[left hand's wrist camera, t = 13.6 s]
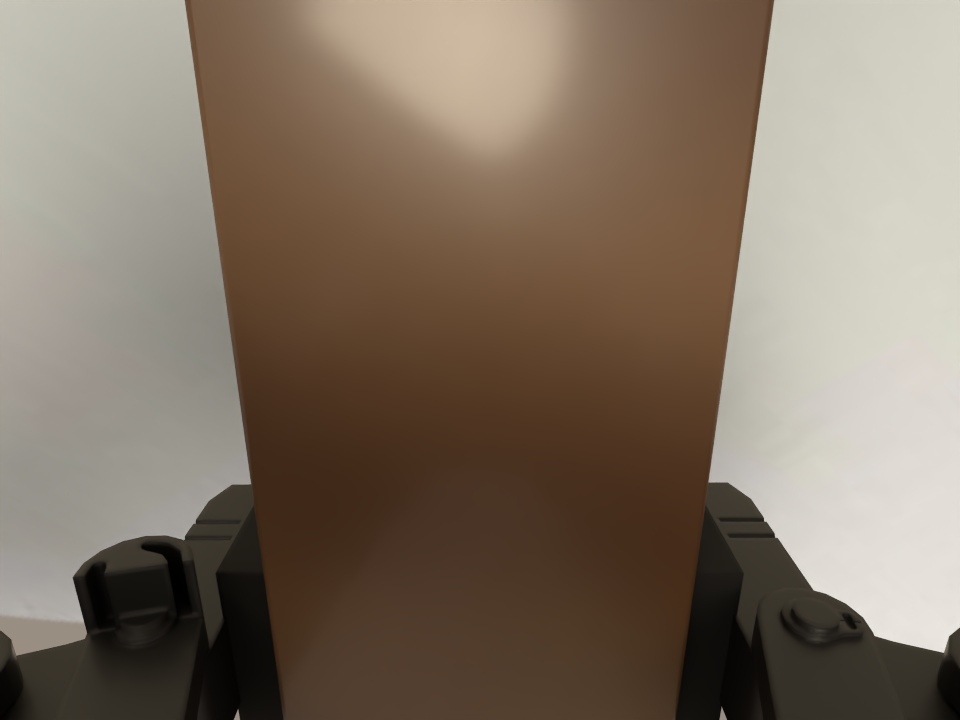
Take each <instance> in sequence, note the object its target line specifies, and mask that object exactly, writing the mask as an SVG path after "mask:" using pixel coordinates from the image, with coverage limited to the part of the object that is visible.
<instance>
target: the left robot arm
mask: <svg viewBox="0 0 960 720" xmlns="http://www.w3.org/2000/svg"><path fill="white" fill-rule="evenodd" d="M73 581H74V584H75V588H76V592H77V596H78V600H79V603H80V607H81V611H82V615H83V619H84V623H85V626H86V630H87V635H86V638H85V639H84V640H80V641H77V642H73V643H70V644H66V645H62V646H58V647H53V648H49V649H44V650H40V651H36V652H31V653H27V654H22V655H18V656H16V654H15V650H14V647H13V644H12V641H11V639H10V638H9V637H7V636H6V635H5V634H4V633H3V632H2V631H0V720H234V718H235V715H236V713H237V710H239V716H240V720H284V719H283V712H282V704H281V697H280V690H279V682H278V675H277V668H276V661H275V653H274V646H273V639H272V631H271V624H270V617H269V610H268V602H267V595H266V588H265V580H264V573H263V566H262V559H261V551H260V544H259V537H258V529H257V522H256V515H255V507H254V500H253V493H252V486H251V485H231V486H230V487H228V488H227V489H225V490H224V491H223V492H221V493H220V494H218V495H217V496H216V497H214V498H213V499H211V500H210V501H209V502H208V503H207V505H206V506H205V508H204V509H203V511H202V512H201V514H200V515H199V517H198V518H197V519H196V524H193V525H192V527H191V528H190V530H189V531H188V533H187V534H186V536H185V540H181V539H177V538H173V537H169V536H144V537H140V538H136V539H132V540H127V541H123V542H121V543H118V544H116V545H114V546H111V547H109V548H107V549H105V550H102V551H100V552H99V553H98V554H96V555H95V556H93V557H92V558H91V559H89V560H88V561H86V562H85V563H84V564H83V565H82V566H81V567H80V569H79V570H78V571H77V573H76V574H75V575H74V576H73ZM721 707H722V708H723V711H724V713H725V716H726V718H727V720H960V628H959V629H958V630H956V631H955V632H954V633H953V634H952V635H950V636H949V639H948V642H947V645H946V648H945V652H944V653H941V652H937V651H933V650H928V649H924V648H919V647H915V646H910V645H906V644H901V643H897V642H893V641H889V640H886V639H882V638H879V637H876V636H874V634H873V632H872V630H871V629H870V627H869V626H868V624H867V623H866V622H865V620H864V619H863V617H862V616H860V615H859V614H858V613H857V612H855V611H854V610H853V609H852V608H850V607H849V606H848V605H847V604H845V603H843V602H841V601H839V600H837V599H835V598H833V597H831V596H829V595H827V594H824V593H821V592H817V591H814V590H813V589H812V588H811V586H810V585H809V583H808V582H807V580H806V579H805V577H804V576H803V574H802V573H801V571H800V570H799V569H798V567H797V566H796V564H795V563H794V561H793V560H792V558H791V557H790V555H789V554H788V552H787V551H786V550H785V548H784V547H783V545H782V544H781V542H780V541H779V539H778V538H775V534H774V532H773V531H772V529H771V528H770V526H769V525H768V523H767V522H764V517H763V516H762V515H761V513H760V512H759V510H758V509H757V507H756V506H755V504H754V503H753V501H752V500H751V499H750V498H749V497H747V496H746V495H744V494H743V493H742V492H740V491H739V490H737V489H736V488H735V487H733V486H732V485H730V484H729V483H708V489H707V496H706V503H705V511H704V518H703V525H702V533H701V540H700V547H699V555H698V562H697V569H696V577H695V584H694V591H693V599H692V606H691V613H690V621H689V628H688V635H687V643H686V650H685V657H684V665H683V672H682V679H681V687H680V694H679V701H678V709H677V716H676V720H719V719H720V713H721Z"/></svg>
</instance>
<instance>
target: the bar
mask: <svg viewBox="0 0 960 720" xmlns="http://www.w3.org/2000/svg"><path fill="white" fill-rule="evenodd" d="M185 5H186V12H187V19H188V26H189V34H190V41H191V48H192V56H193V63H194V70H195V77H196V85H197V92H198V99H199V107H200V114H201V121H202V129H203V136H204V143H205V150H206V158H207V165H208V172H209V180H210V187H211V194H212V201H213V209H214V216H215V223H216V231H217V238H218V245H219V252H220V260H221V267H222V274H223V282H224V289H225V296H226V303H227V311H228V318H229V325H230V333H231V340H232V347H233V354H234V362H235V369H236V376H237V384H238V391H239V398H240V405H241V413H242V420H243V427H244V435H245V442H246V449H247V456H248V464H249V471H250V478H251V486H252V493H253V500H254V507H255V515H256V522H257V529H258V537H259V544H260V551H261V559H262V566H263V573H264V580H265V588H266V595H267V602H268V610H269V617H270V624H271V631H272V639H273V646H274V653H275V661H276V668H277V675H278V682H279V690H280V697H281V704H282V712H283V719H284V720H676V716H677V709H678V701H679V694H680V687H681V679H682V672H683V665H684V657H685V650H686V643H687V635H688V628H689V621H690V613H691V606H692V599H693V591H694V584H695V577H696V569H697V562H698V555H699V547H700V540H701V533H702V525H703V518H704V511H705V503H706V496H707V489H708V481H709V474H710V467H711V459H712V452H713V445H714V437H715V430H716V423H717V415H718V408H719V401H720V394H721V386H722V379H723V372H724V364H725V357H726V350H727V342H728V335H729V328H730V320H731V313H732V306H733V298H734V291H735V284H736V276H737V269H738V262H739V254H740V247H741V240H742V232H743V225H744V218H745V210H746V203H747V196H748V188H749V181H750V174H751V166H752V159H753V152H754V144H755V137H756V130H757V122H758V115H759V108H760V100H761V93H762V86H763V78H764V71H765V64H766V56H767V49H768V42H769V34H770V27H771V20H772V12H773V5H774V0H185Z"/></svg>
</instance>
